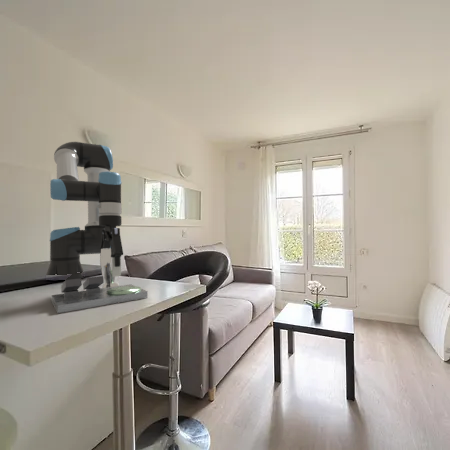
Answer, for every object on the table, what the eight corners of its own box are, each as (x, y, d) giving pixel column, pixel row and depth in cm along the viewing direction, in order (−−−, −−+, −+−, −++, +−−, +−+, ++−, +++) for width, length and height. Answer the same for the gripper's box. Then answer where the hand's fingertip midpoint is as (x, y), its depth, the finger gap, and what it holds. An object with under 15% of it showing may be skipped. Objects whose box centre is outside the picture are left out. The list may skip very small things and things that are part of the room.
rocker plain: (83, 289, 85) (83, 283, 86) (97, 287, 88) (96, 281, 88) (89, 284, 78) (88, 277, 79) (103, 282, 81) (103, 276, 81)
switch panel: (51, 301, 81) (51, 290, 81) (131, 289, 95) (131, 280, 96) (57, 313, 69) (57, 300, 69) (147, 297, 84) (147, 286, 84)
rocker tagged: (61, 292, 81) (61, 285, 82) (76, 290, 84) (75, 283, 84) (65, 287, 75) (65, 279, 75) (81, 285, 77) (81, 277, 78)
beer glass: (108, 287, 100) (108, 247, 100) (125, 288, 99) (124, 247, 99) (95, 291, 93) (95, 248, 94) (113, 292, 92) (113, 248, 92)
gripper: (91, 217, 104) (91, 271, 103) (108, 212, 84) (109, 279, 84) (111, 217, 109) (111, 269, 108) (132, 213, 89) (133, 276, 89)
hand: (110, 274), depth 96 cm, fingers open, 13 cm apart
